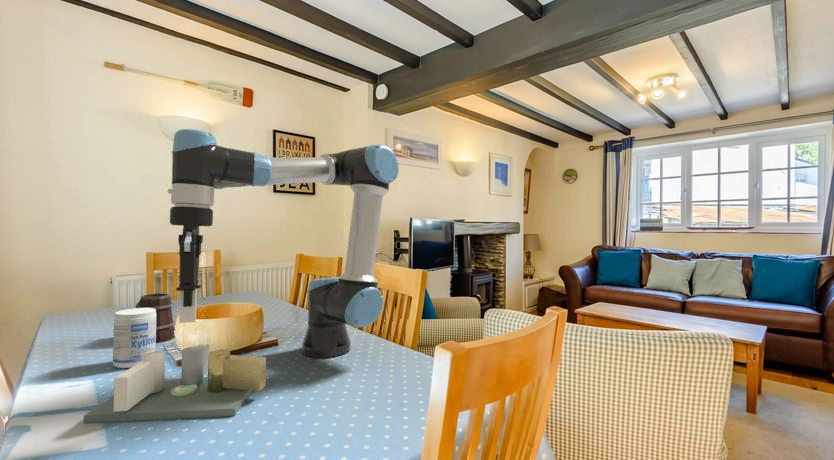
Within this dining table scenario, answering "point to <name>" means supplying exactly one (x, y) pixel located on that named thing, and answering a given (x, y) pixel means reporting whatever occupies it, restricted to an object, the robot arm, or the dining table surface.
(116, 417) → the base
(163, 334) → the mug
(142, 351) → the supplement tub
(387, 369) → the dining table surface
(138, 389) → the cream piece
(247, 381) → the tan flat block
